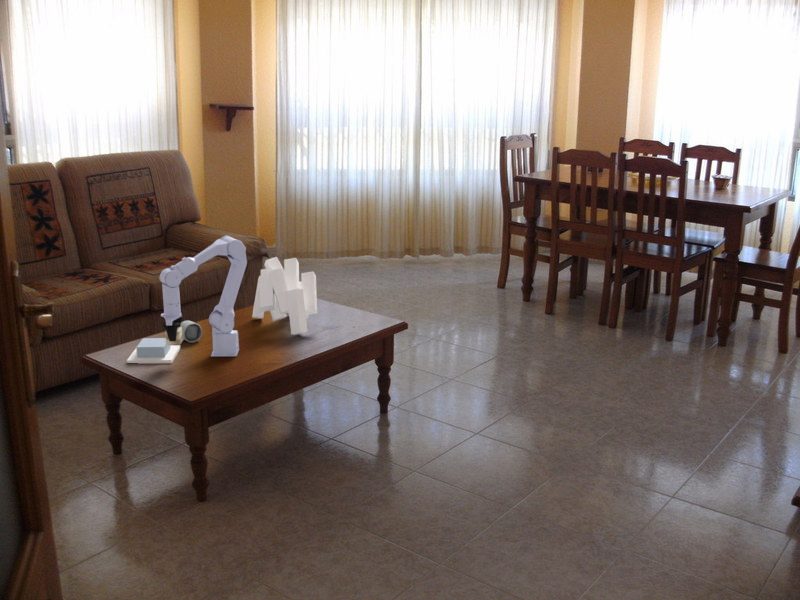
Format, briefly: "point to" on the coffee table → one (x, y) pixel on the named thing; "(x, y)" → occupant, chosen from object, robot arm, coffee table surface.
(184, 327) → the ceramic mug
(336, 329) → the coffee table surface
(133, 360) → the plinth base
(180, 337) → the birch cube
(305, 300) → the pile of blocks
